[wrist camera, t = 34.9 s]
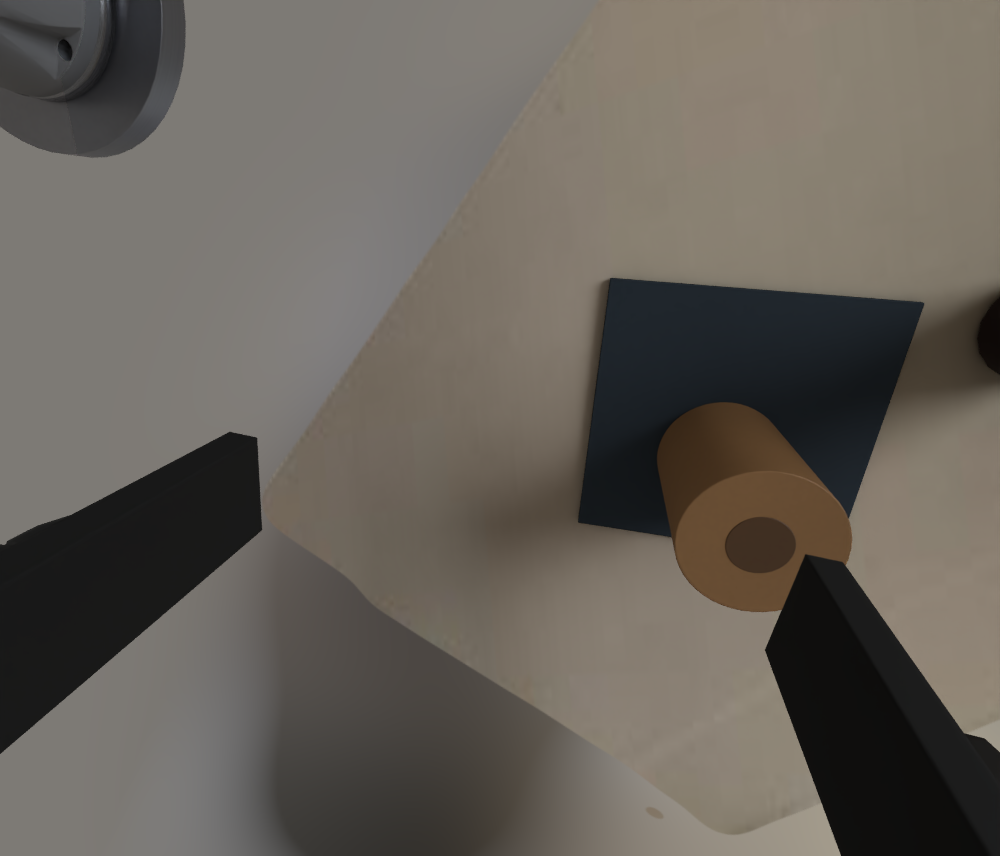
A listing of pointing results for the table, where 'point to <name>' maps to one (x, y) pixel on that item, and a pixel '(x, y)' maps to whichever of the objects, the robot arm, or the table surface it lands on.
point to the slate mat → (737, 382)
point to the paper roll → (744, 507)
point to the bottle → (990, 337)
